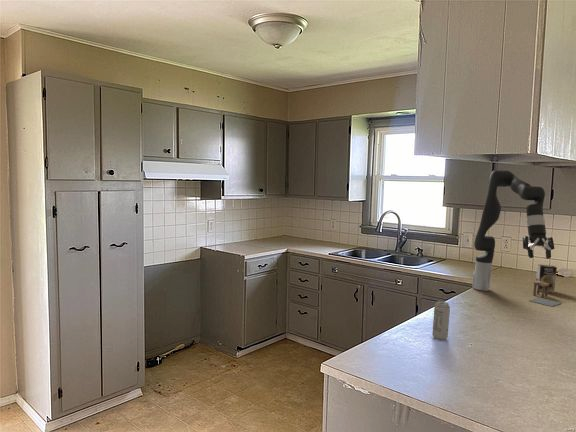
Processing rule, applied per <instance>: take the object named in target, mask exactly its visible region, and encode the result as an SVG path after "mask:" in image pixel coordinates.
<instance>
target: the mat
mask: <svg viewBox="0 0 576 432" xmlns="http://www.w3.org/2000/svg"><path fill="white" fill-rule="evenodd" d="M528 302H530V303H535V304H539V305H543V306H547V307H551V308H552V307H556V306H559V305H562V302H558V301H555V300H551V299H547V298H546V299H545V298H544V297H536V298H532V299H528Z"/></svg>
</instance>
